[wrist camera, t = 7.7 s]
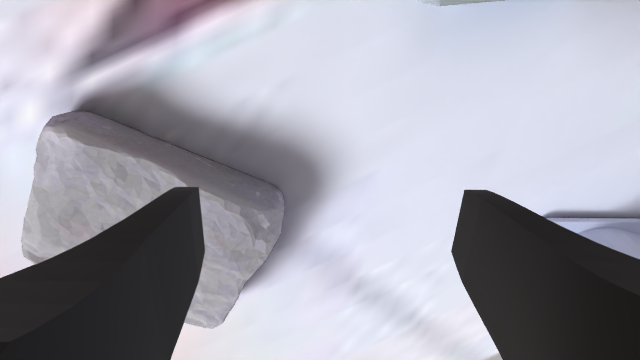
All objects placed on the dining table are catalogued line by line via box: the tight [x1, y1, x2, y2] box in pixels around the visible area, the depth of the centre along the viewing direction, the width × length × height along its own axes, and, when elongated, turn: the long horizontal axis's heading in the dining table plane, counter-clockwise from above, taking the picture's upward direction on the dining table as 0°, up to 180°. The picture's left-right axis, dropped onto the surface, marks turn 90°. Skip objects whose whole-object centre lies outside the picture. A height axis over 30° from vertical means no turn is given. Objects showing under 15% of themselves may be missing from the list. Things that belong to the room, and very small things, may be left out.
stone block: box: [21, 111, 285, 329], centre depth 22 cm, size 12×5×10 cm
